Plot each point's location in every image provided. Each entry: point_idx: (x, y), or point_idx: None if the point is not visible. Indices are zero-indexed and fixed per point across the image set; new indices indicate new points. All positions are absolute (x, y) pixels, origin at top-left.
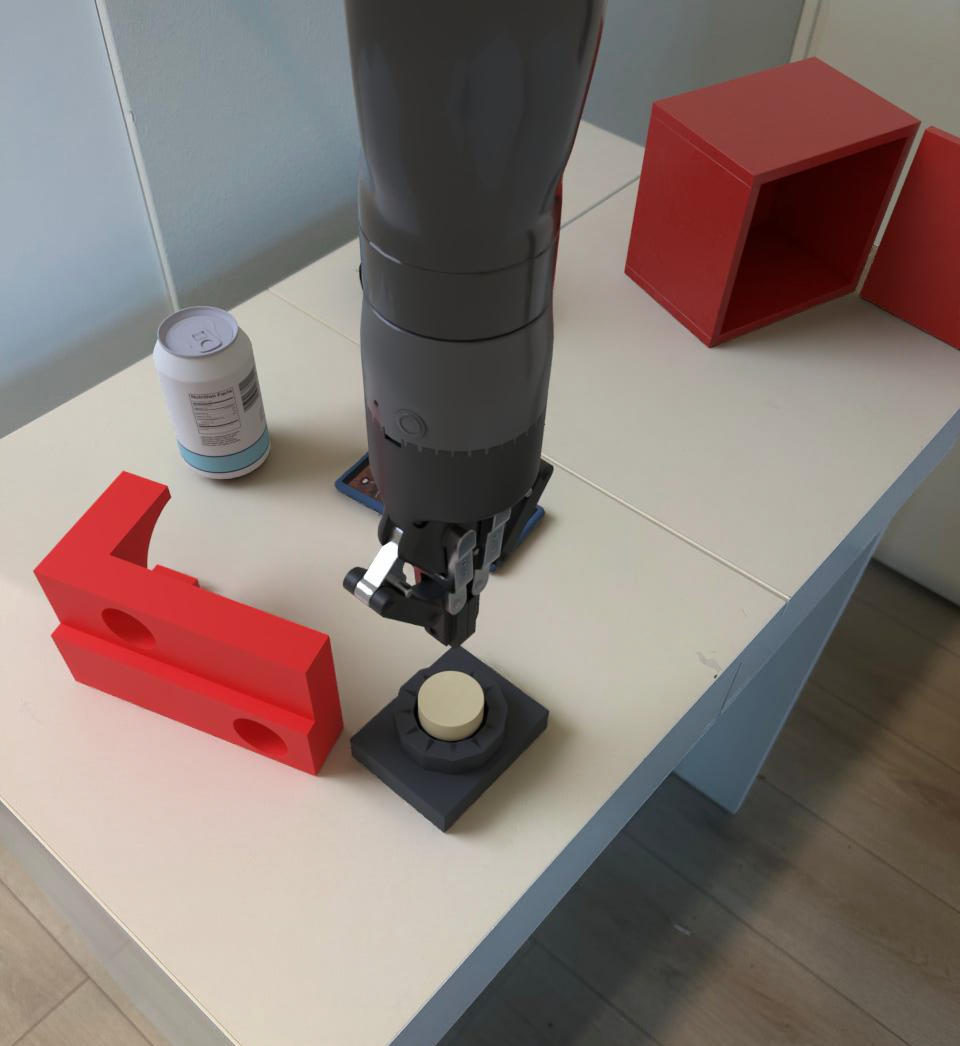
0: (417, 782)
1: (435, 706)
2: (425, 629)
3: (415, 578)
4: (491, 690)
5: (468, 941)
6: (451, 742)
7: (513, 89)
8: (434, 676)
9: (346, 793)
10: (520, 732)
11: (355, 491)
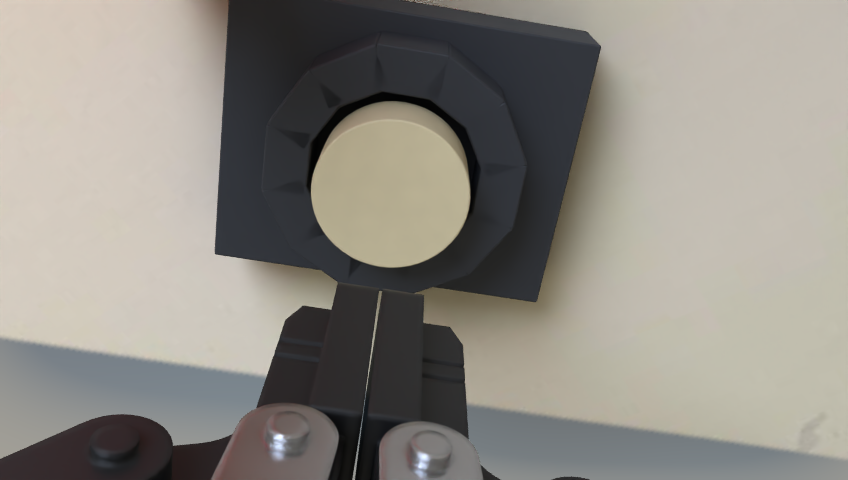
0: (240, 173)
1: (348, 180)
2: (285, 324)
3: (216, 472)
4: (487, 226)
5: (110, 347)
6: None
7: None
8: (420, 131)
9: (175, 18)
10: (460, 280)
11: None
